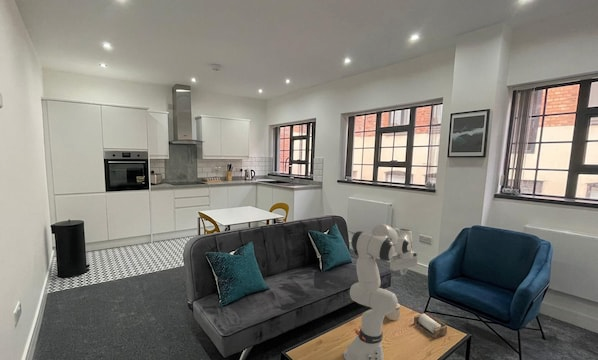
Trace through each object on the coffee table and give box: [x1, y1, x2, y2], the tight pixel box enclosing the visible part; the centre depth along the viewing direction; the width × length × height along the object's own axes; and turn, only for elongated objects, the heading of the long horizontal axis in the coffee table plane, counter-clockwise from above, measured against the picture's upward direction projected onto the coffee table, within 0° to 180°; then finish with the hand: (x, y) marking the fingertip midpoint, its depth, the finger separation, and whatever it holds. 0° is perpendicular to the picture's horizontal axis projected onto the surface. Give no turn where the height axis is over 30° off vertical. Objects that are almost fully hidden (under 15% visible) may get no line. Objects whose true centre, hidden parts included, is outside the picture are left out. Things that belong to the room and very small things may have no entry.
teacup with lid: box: [385, 302, 401, 321], centre depth 195 cm, size 12×9×12 cm
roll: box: [418, 313, 441, 335], centre depth 181 cm, size 12×7×7 cm, turn 20°
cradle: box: [413, 312, 448, 339], centre depth 181 cm, size 10×16×6 cm, turn 25°
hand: (403, 274), depth 182 cm, fingers closed
